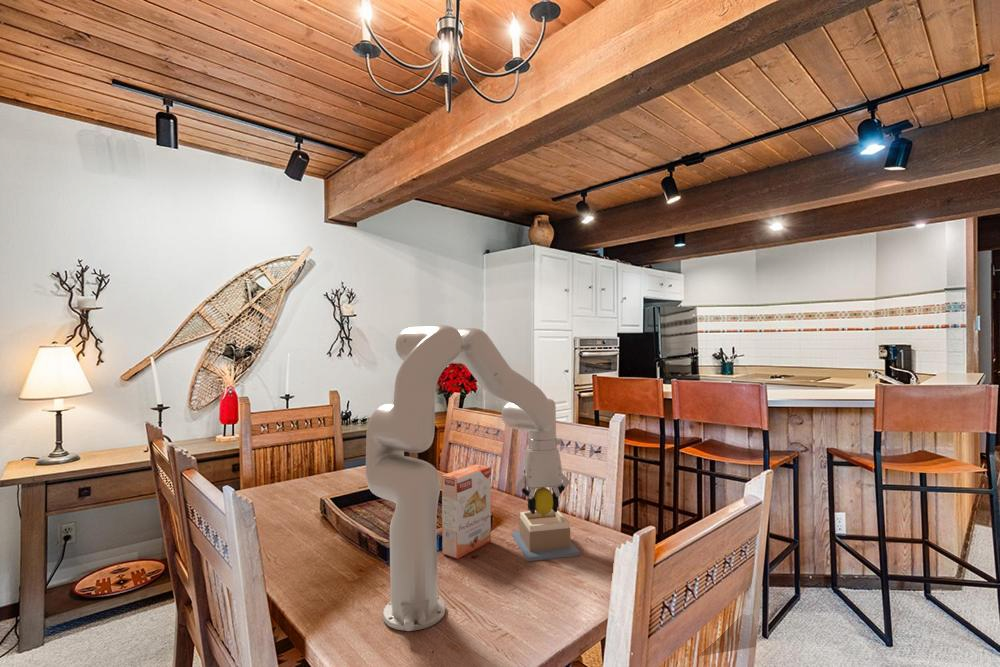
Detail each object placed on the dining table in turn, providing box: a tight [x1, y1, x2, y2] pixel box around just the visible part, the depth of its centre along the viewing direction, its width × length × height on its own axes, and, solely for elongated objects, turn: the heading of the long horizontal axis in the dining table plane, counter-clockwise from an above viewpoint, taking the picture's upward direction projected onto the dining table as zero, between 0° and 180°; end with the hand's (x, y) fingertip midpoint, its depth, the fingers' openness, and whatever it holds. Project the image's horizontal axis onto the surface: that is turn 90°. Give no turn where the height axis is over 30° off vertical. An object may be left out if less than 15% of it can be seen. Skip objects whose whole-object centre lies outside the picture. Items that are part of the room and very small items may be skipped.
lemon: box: [533, 487, 553, 516], centre depth 134 cm, size 6×6×8 cm
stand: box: [511, 509, 581, 562], centre depth 134 cm, size 17×14×8 cm
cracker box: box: [441, 464, 492, 560], centre depth 133 cm, size 14×6×21 cm, turn 143°
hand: (543, 510), depth 134 cm, fingers closed on lemon, 5 cm apart
